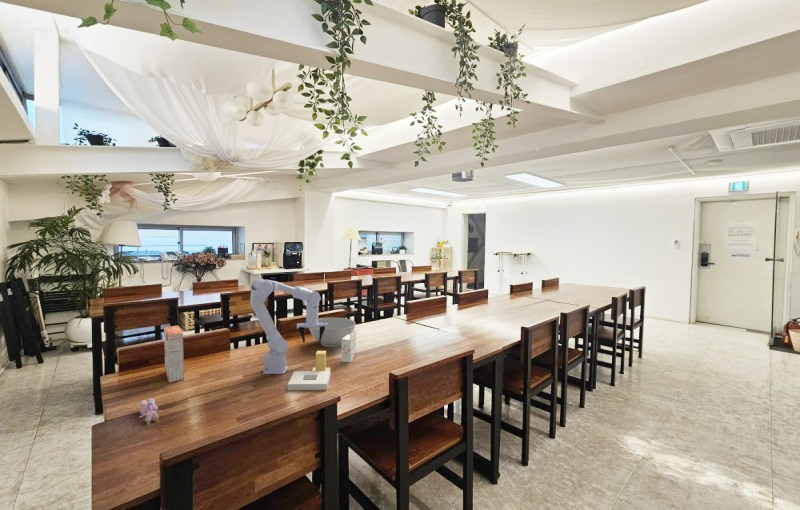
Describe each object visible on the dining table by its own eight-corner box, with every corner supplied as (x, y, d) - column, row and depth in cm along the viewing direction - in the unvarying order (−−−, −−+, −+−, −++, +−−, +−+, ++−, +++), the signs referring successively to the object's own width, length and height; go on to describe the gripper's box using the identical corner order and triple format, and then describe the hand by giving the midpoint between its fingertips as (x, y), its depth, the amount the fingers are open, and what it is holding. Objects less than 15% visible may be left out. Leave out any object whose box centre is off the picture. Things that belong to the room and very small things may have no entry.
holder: (287, 390, 142) (287, 384, 142) (294, 376, 155) (294, 371, 155) (327, 389, 143) (327, 383, 143) (330, 376, 156) (330, 371, 156)
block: (315, 373, 159) (315, 353, 158) (316, 369, 163) (317, 350, 162) (324, 373, 159) (325, 353, 158) (325, 369, 163) (326, 350, 163)
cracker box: (164, 372, 156) (163, 326, 154) (179, 369, 159) (179, 324, 158) (167, 383, 145) (166, 334, 143) (184, 380, 148) (183, 332, 147)
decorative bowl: (318, 335, 217) (318, 316, 216) (360, 338, 213) (360, 319, 212) (300, 349, 190) (300, 327, 189) (347, 353, 187) (348, 331, 186)
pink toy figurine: (164, 424, 118) (156, 401, 128) (164, 409, 116) (156, 386, 127) (141, 431, 113) (135, 406, 124) (141, 415, 112) (135, 391, 123)
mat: (310, 375, 157) (310, 374, 157) (313, 368, 165) (313, 367, 165) (328, 375, 158) (328, 374, 158) (330, 368, 166) (330, 367, 166)
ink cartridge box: (346, 356, 183) (347, 328, 182) (355, 356, 182) (356, 329, 181) (341, 361, 174) (341, 333, 173) (350, 362, 173) (350, 334, 172)
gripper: (296, 317, 165) (295, 345, 166) (327, 316, 168) (326, 344, 169) (297, 313, 172) (297, 340, 173) (327, 313, 175) (327, 339, 176)
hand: (311, 342), depth 172 cm, fingers open, 7 cm apart
